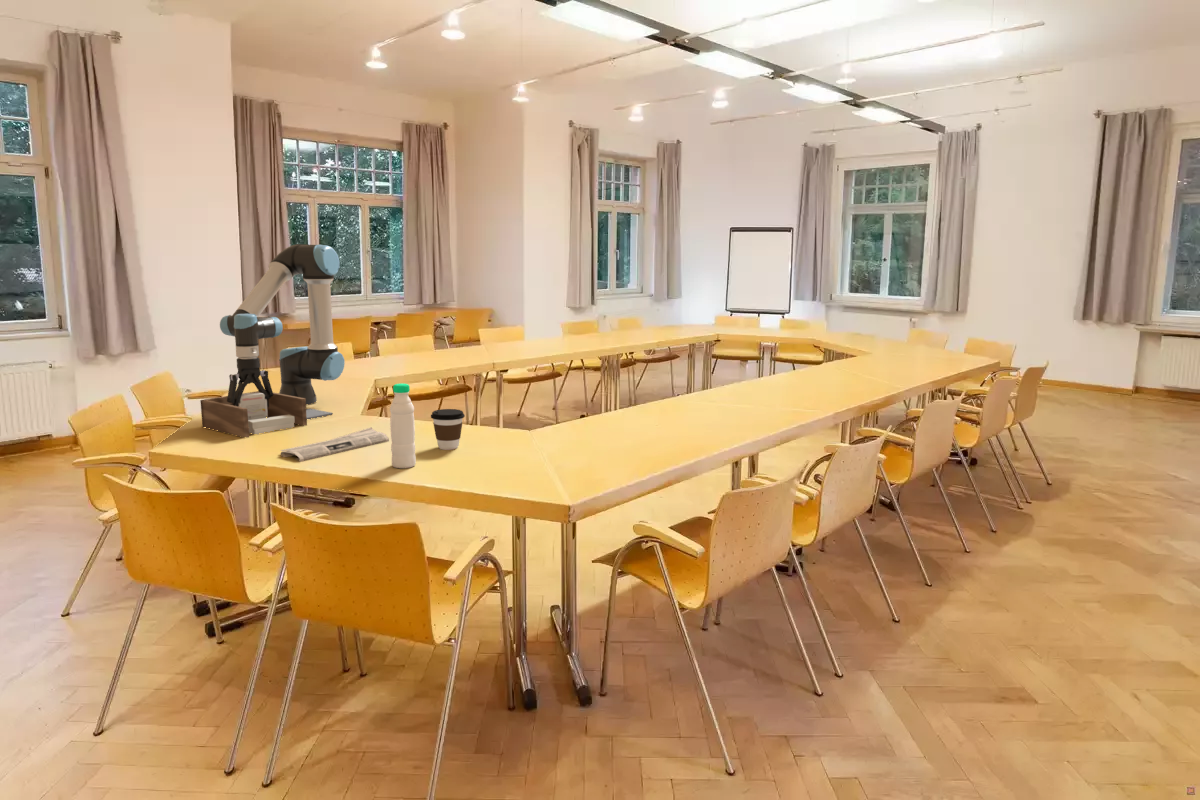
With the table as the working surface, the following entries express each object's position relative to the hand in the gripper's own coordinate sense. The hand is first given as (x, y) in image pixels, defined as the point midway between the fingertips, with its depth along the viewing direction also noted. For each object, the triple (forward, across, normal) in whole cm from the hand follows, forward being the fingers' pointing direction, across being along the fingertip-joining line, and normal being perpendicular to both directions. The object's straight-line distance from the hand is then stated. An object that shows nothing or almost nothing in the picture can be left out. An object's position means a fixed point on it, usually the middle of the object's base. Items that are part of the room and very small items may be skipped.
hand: (252, 418), depth 287 cm
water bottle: (+3, -4, -83) cm, 83 cm away
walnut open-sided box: (+3, 0, -2) cm, 3 cm away
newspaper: (+3, -2, -49) cm, 49 cm away
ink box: (+3, 0, 0) cm, 3 cm away
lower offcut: (+3, 0, -11) cm, 12 cm away
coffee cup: (+3, +20, -78) cm, 81 cm away
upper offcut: (+1, 0, -12) cm, 12 cm away
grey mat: (+3, +23, 0) cm, 23 cm away
